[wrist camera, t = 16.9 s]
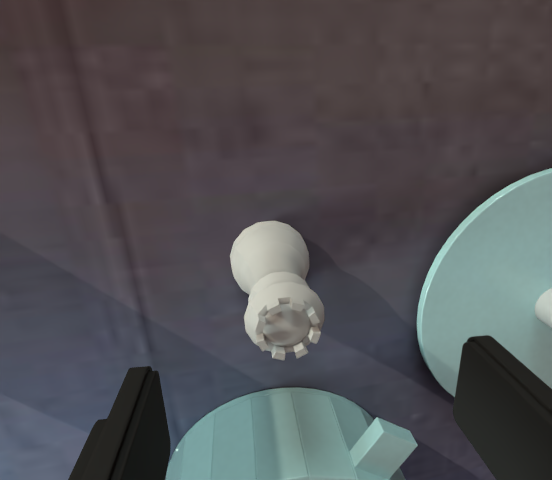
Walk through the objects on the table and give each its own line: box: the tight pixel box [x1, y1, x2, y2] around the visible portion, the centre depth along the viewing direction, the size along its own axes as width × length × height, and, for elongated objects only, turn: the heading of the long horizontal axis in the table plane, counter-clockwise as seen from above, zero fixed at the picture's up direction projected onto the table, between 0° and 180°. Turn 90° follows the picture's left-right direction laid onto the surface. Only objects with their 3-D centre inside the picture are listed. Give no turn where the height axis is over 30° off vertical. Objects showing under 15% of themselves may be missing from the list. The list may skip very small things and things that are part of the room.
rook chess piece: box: [230, 221, 324, 360], centre depth 18 cm, size 4×4×8 cm
